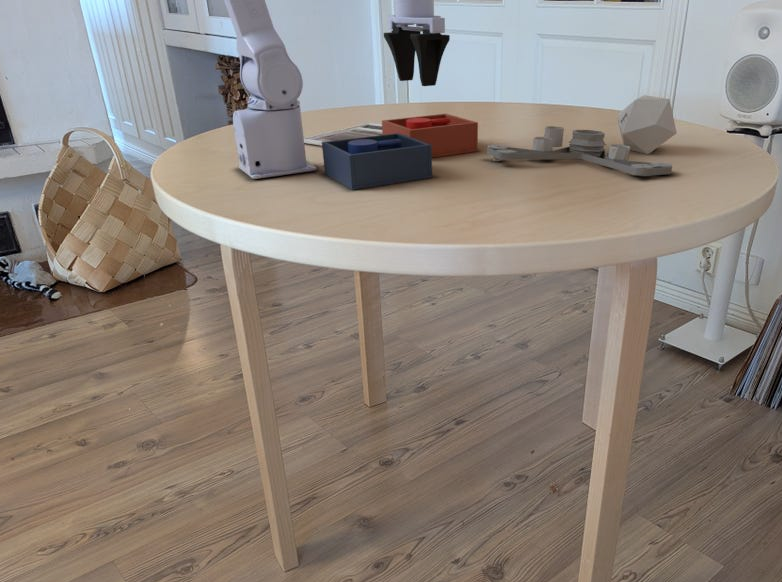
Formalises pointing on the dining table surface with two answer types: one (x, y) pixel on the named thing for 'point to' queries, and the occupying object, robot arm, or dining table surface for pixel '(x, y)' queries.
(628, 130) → the die
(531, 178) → the dining table surface
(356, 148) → the blue scoop
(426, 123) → the red scoop
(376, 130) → the grey striped panel
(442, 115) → the red bin
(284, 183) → the dining table surface
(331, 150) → the blue bin
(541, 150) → the pulley system
